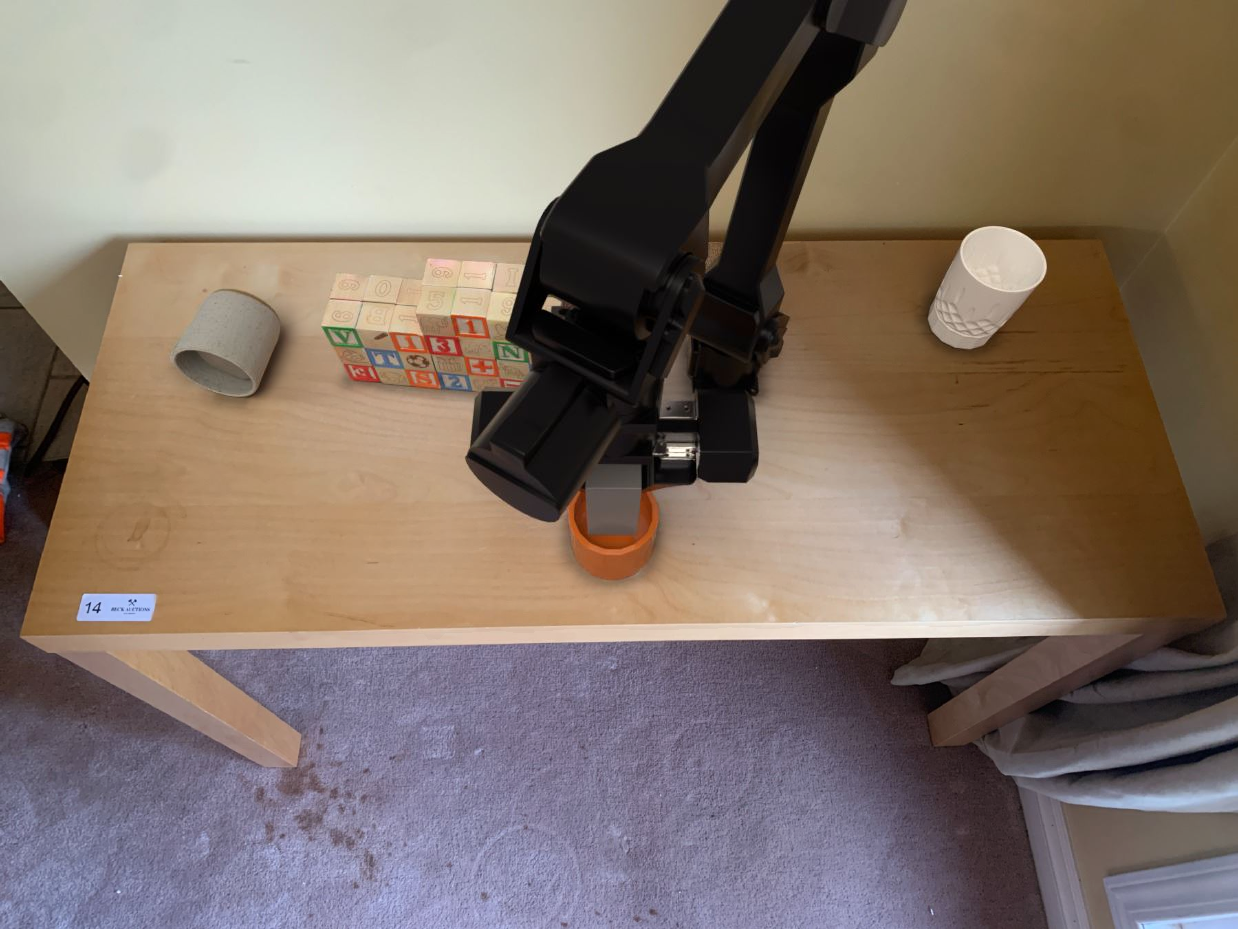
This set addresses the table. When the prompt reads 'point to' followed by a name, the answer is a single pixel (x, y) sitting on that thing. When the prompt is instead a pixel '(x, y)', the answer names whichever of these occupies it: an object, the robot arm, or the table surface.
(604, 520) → the block
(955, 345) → the white cup
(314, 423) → the table surface
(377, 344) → the stack of blocks
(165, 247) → the table surface
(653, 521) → the cup
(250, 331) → the ceramic mug
